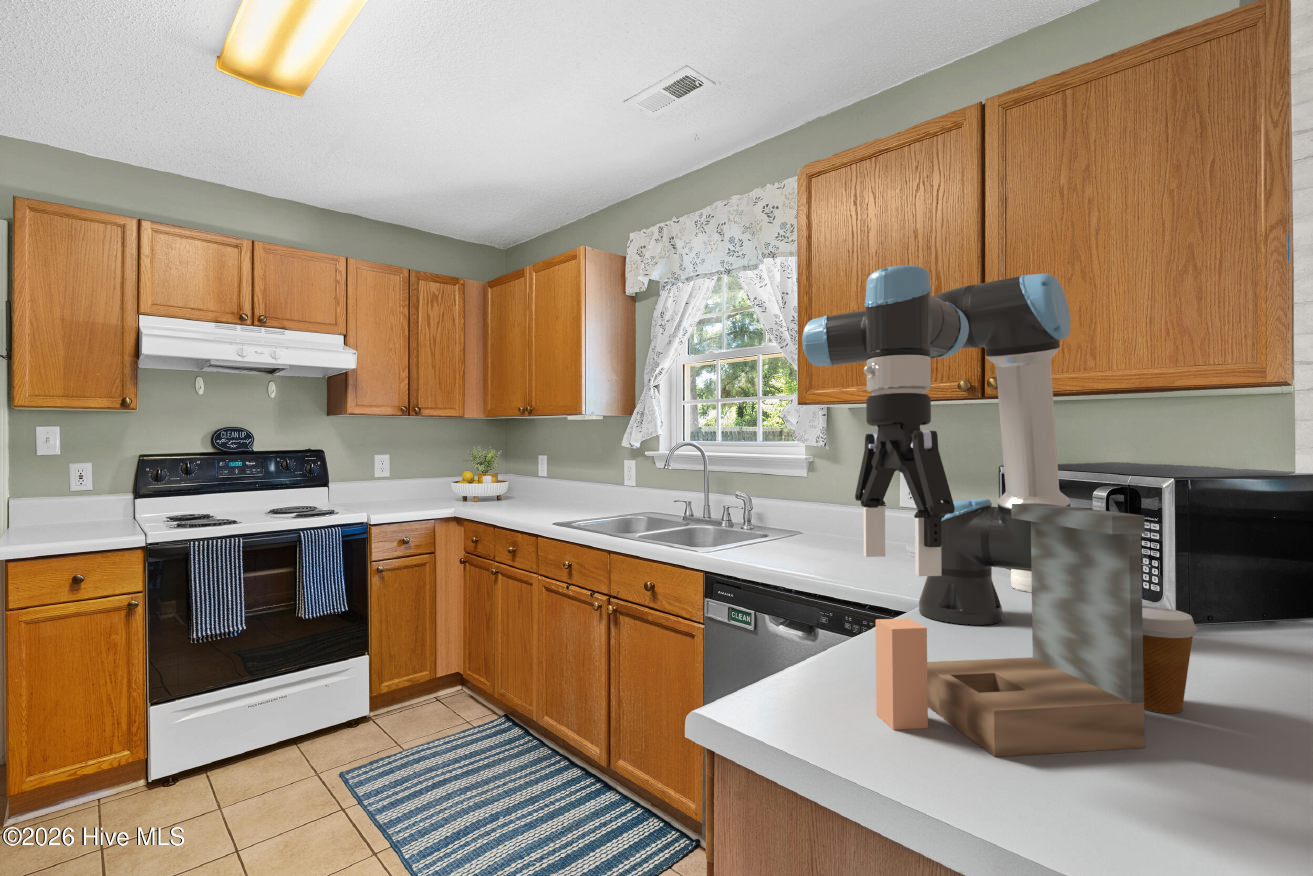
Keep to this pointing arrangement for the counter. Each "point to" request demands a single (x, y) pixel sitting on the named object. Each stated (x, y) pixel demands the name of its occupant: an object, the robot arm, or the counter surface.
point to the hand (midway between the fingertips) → (899, 565)
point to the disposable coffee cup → (1165, 657)
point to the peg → (901, 673)
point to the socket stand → (1062, 645)
